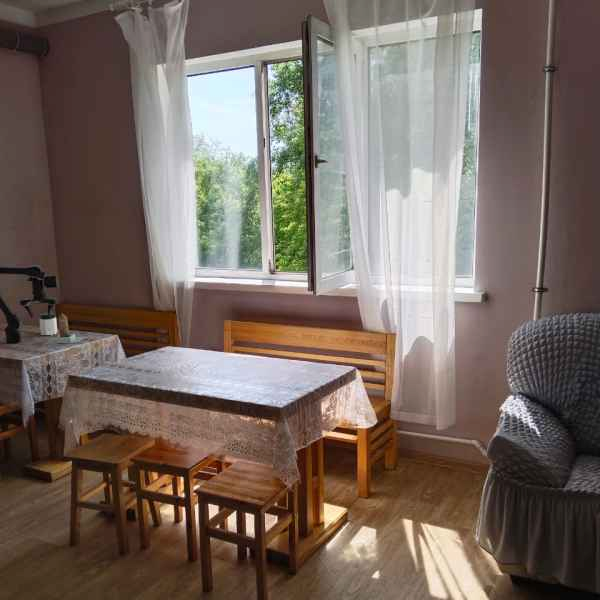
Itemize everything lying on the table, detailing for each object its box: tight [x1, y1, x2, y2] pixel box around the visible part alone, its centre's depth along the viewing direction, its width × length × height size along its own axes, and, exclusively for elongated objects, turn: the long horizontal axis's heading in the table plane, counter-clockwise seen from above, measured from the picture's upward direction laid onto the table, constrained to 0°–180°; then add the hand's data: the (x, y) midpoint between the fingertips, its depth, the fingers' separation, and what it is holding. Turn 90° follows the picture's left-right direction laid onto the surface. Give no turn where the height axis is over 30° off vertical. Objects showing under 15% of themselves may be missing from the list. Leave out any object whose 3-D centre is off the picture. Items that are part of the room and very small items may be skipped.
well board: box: [44, 333, 86, 345], centre depth 338 cm, size 18×12×3 cm, turn 94°
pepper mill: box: [57, 313, 70, 338], centre depth 337 cm, size 5×5×14 cm
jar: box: [39, 311, 58, 336], centre depth 354 cm, size 9×8×12 cm
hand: (40, 317), depth 339 cm, fingers open, 9 cm apart
